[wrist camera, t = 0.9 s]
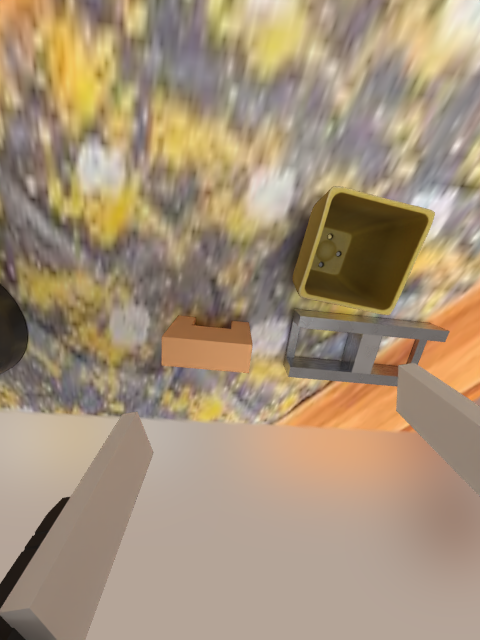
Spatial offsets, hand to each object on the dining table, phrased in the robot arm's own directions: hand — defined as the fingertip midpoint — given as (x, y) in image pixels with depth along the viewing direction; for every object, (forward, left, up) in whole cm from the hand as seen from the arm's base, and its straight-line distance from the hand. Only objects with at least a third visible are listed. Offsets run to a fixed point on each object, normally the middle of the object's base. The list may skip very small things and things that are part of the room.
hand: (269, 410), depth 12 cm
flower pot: (+8, +8, -19) cm, 22 cm away
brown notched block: (-4, -3, -19) cm, 20 cm away
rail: (+15, -3, -19) cm, 24 cm away
